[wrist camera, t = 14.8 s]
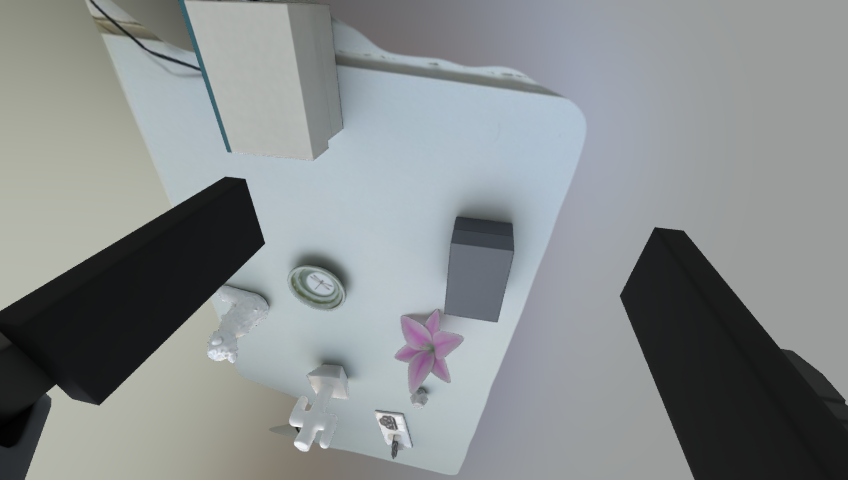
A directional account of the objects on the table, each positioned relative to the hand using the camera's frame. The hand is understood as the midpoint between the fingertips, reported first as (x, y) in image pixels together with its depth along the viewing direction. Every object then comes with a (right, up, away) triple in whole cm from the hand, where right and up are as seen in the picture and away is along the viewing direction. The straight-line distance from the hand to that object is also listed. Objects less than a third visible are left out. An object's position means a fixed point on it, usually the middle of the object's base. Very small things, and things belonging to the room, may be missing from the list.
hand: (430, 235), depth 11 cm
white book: (-14, +15, +20) cm, 28 cm away
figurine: (-19, -28, +59) cm, 67 cm away
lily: (+1, -15, +45) cm, 47 cm away
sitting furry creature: (-32, -11, +50) cm, 61 cm away
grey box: (+7, -2, +35) cm, 36 cm away
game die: (-1, -31, +57) cm, 65 cm away
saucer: (-17, -7, +44) cm, 47 cm away
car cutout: (-7, -45, +68) cm, 82 cm away
